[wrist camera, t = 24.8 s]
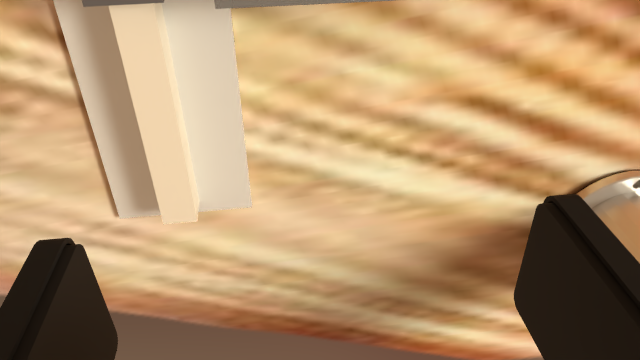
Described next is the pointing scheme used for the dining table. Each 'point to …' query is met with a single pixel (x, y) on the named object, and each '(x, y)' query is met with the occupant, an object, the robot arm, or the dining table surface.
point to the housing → (277, 3)
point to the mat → (195, 96)
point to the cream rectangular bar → (156, 103)
